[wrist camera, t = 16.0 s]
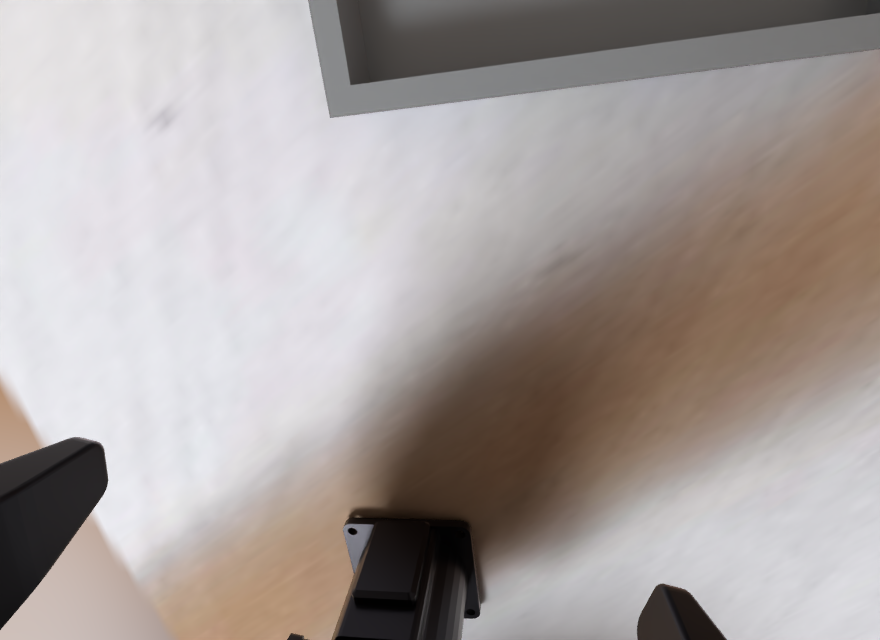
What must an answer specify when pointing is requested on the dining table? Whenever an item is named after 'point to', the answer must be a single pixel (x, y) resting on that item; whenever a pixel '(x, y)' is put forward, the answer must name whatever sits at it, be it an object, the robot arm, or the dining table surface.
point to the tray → (560, 43)
